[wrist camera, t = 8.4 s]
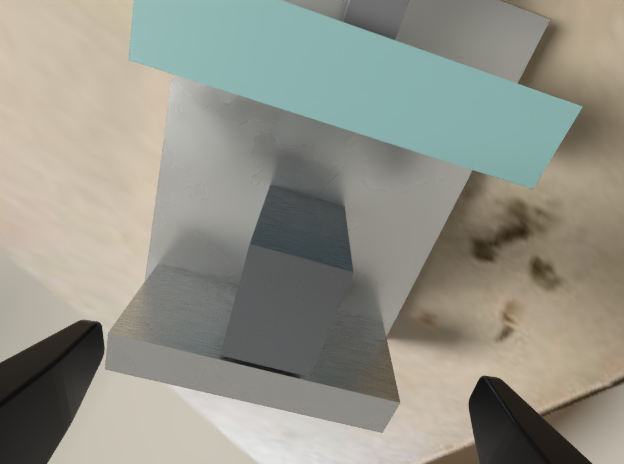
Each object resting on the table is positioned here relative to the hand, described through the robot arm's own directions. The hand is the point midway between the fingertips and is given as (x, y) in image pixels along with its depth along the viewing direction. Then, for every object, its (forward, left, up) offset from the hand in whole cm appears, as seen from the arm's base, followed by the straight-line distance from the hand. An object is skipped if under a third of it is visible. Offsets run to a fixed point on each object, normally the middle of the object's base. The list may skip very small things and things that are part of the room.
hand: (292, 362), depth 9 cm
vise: (0, -1, -11) cm, 11 cm away
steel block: (0, +2, -10) cm, 10 cm away
